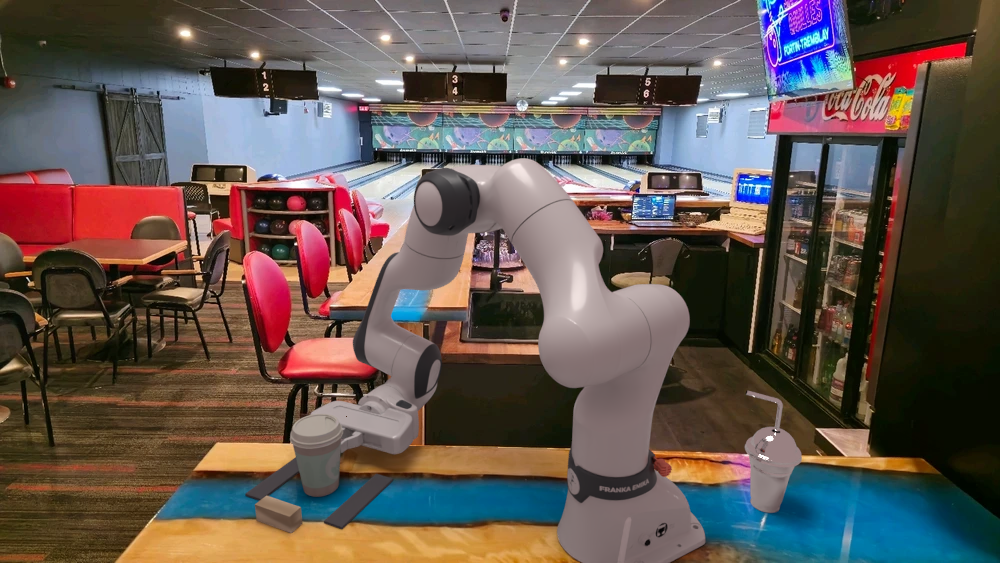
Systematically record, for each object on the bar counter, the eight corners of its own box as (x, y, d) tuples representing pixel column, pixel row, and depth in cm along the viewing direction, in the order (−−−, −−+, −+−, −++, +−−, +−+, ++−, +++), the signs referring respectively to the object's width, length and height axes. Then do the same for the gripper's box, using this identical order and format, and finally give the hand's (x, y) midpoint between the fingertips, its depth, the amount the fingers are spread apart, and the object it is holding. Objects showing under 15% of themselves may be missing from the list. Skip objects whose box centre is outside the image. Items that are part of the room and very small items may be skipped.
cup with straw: (782, 528, 97) (800, 414, 91) (726, 503, 103) (740, 394, 97) (800, 503, 103) (819, 394, 97) (746, 481, 109) (761, 377, 103)
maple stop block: (268, 511, 100) (266, 495, 99) (302, 523, 97) (300, 507, 96) (256, 520, 98) (254, 504, 97) (291, 533, 95) (289, 516, 94)
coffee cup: (332, 505, 102) (327, 441, 98) (285, 498, 103) (278, 434, 100) (355, 475, 110) (351, 415, 106) (311, 469, 111) (305, 409, 108)
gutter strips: (303, 453, 116) (302, 451, 116) (392, 480, 108) (392, 478, 108) (245, 495, 104) (245, 493, 104) (342, 529, 96) (341, 527, 96)
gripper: (336, 387, 124) (286, 418, 111) (424, 408, 115) (381, 444, 103) (338, 415, 125) (289, 449, 113) (425, 438, 117) (382, 477, 105)
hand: (334, 447), depth 108 cm, fingers closed, pressing on coffee cup
